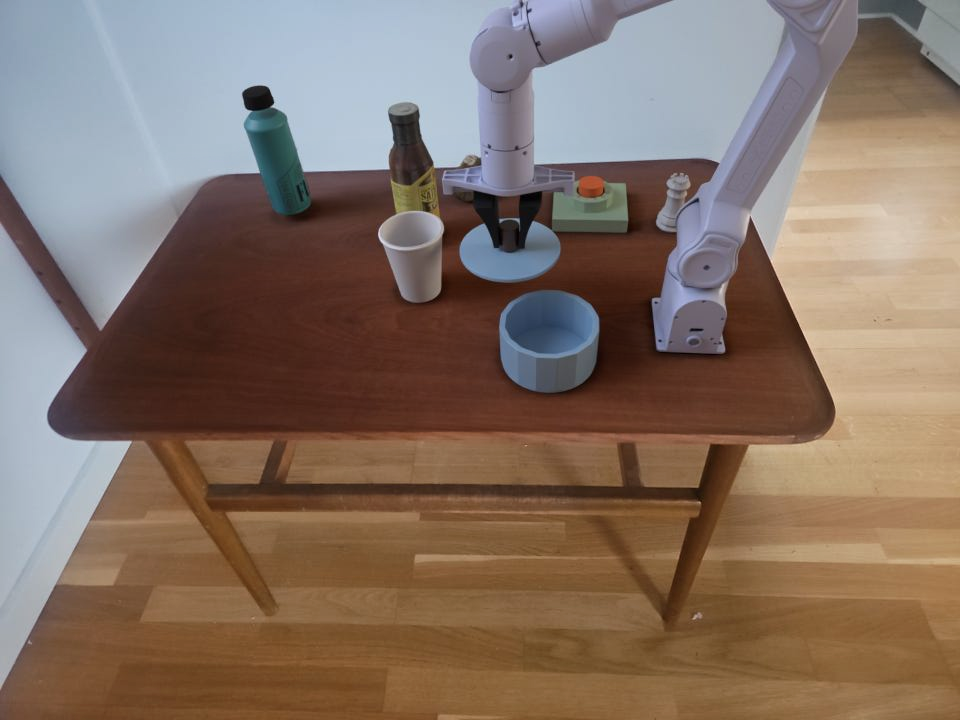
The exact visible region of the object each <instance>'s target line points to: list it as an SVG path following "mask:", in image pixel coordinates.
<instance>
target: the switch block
mask: <svg viewBox="0 0 960 720" xmlns="http://www.w3.org/2000/svg"><path fill="white" fill-rule="evenodd" d="M579 181H580V179H579V180H576V181H575V180H574V195H573V196H565V195H564V192H553V199H552V201H553V202H552V215H551V216H552V218H551V230H552V231H553V232H565V233H566V232H569V233H570V232H571V233H572V232H575V233H621V234H622V233H625V234H626V233H627V232H628V226H629V212H628V209H629V208H628V197H627V186H626V185H627V184H626V183H625V182H607V181H605V180H603V182H604V184H603V194H602V195H601V196H599V197H596V198H585V197H582V196H580V195H579V193H578V191H579Z"/></svg>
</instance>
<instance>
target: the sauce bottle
mask: <svg viewBox="0 0 960 720" xmlns="http://www.w3.org/2000/svg"><path fill="white" fill-rule="evenodd" d="M387 116H388V120H389V123H390V125H391V131H392V141H393V144H392V147H391V149H390V151H389V154H388V167H389V173H390V174H389V177H390V184H391V189H392V191H391V192H392V195H393V202H394V209H395V215H396V214H399V213H403V212H408V211H423V212H428V213H431V214H433V215H435V216H437V217H438V218H439V219H440V220H441V215H440V207H439V197H438V190H437V189H438V188H437V181H436V172H435V163H434V160H433V158H432V156H431V154H430V152H429V150H428V148H427V146H426V143H425V141H424V140H423V135H422V133H421V123H420V119H421V114H420V107H419V106H418V104H416V103H413V102H408V101H405V102H398V103H396V104H392V105H391V106H390V107H389V108H388V110H387Z"/></svg>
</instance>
